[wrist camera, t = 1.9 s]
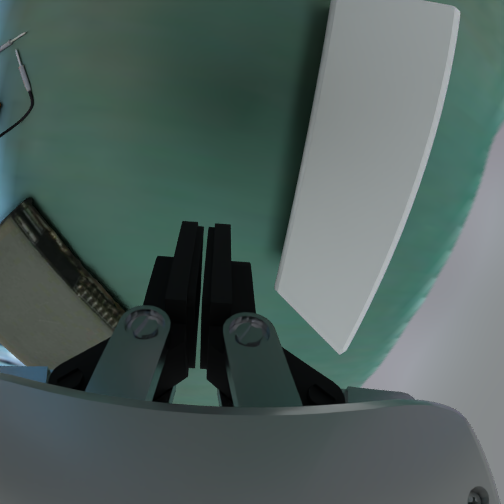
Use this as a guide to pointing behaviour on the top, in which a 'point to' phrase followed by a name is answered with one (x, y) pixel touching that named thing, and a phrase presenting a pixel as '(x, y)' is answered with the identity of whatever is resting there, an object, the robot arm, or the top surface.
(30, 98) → the multimeter
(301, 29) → the top surface
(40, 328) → the network switch
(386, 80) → the panel
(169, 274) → the robot arm
